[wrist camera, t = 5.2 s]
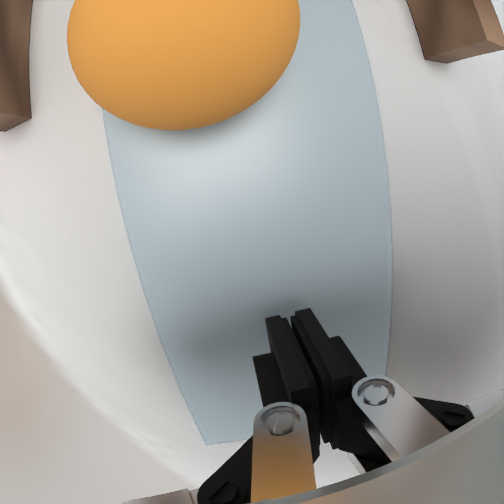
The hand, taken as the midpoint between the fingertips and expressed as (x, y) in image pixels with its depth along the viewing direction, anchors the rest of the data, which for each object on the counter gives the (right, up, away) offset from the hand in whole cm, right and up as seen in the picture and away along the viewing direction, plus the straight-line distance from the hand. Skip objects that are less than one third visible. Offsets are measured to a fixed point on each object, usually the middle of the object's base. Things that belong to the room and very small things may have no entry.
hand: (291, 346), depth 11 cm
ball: (-3, +9, -5) cm, 11 cm away
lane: (-2, +11, -2) cm, 11 cm away
